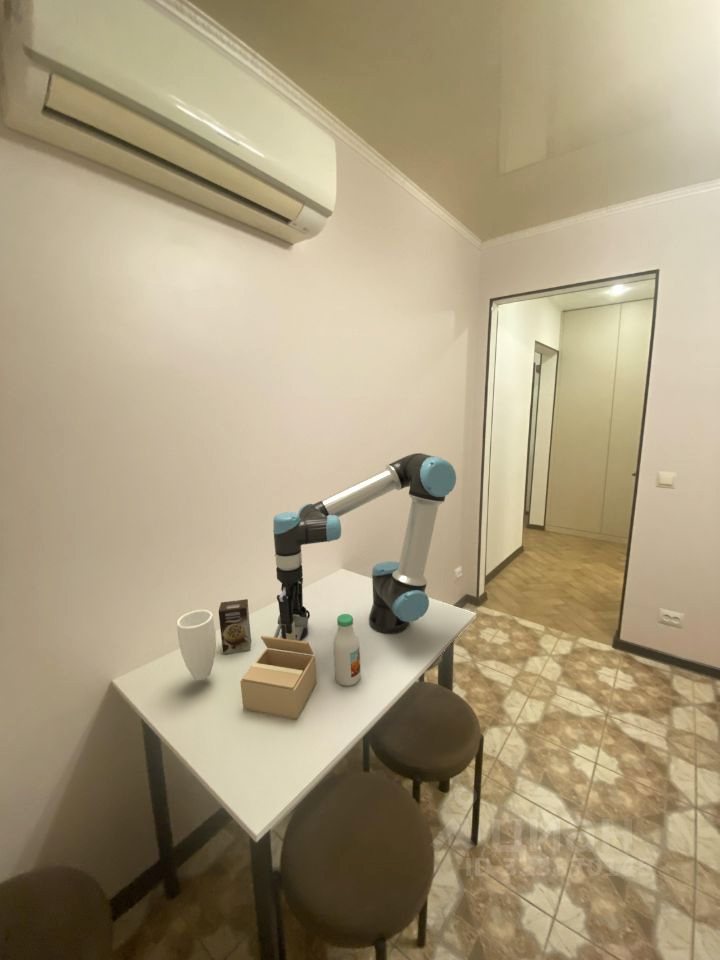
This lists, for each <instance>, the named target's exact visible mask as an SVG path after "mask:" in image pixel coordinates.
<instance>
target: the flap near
mask: <svg viewBox="0 0 720 960" xmlns="http://www.w3.org/2000/svg"><path fill="white" fill-rule="evenodd" d="M293 621H295V627H300V629H299V632H298V635H297V638H296V640H290V639H283V638H282V637H279V635H280V632H281V627H282V625H284V624H281V620H280V614H279V615H278V617H277V628H276V630H275V632H274V635H273V636H267V635H261V636H260V639H261V640H262V642H263V644H264V645H265V646H266V647H265V648H266V649H271V650H278V651H284V652H291V653H298V654H305V655H311V656H314V651H313V649H312V647H311V645H310V643H309V641H302V640H300V637H301V634H302V632H303V629H304V628H306V627H307V625H308V626H309V619H308V618H306V617H298V616H293ZM284 626H285V625H284Z"/></svg>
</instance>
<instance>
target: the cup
mask: <svg viewBox="0 0 720 960" xmlns="http://www.w3.org/2000/svg"><path fill="white" fill-rule="evenodd" d="M176 629H177V630H176V631H177V640H178V645H179V649H180V653H181V656H182V659H183V662H184V663H185V667H186V668H187V671H189V673H190V675H191V676H192V678H194V680H196V681H201V680H205V679H207V678H208V677H209V676H210V675H211V672H212V669H213V666H214V663H215V662H214V661H215V658H216V648H217V639H216V637H217V636H216V626H215V620H214V615H213V613H212V612H211V611H209V610H207V609H196V610H193V611H189V612H187V613H185V614H182V615H181V616H180V617H179V618H178V620H177V622H176Z"/></svg>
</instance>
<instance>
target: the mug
mask: <svg viewBox="0 0 720 960" xmlns="http://www.w3.org/2000/svg"><path fill="white" fill-rule="evenodd" d="M300 610H301V611H303V613H302V614H299V615H300V617H306V618H308V620H309V619H310V617H311V616H310V615H311V614H310V611H309V610H307V608H306V607H305V606H304V605H303V608H302V609H300ZM308 626H309V624H308V625H307V627H306V628H304V629H303V632H302V634H301V637H300V640H299V641H302V640H304V639H305V638H307V636H308V634H309V627H308ZM280 632H281V633H280V634H281V638H282V639H286V627H285V626H284V625H282V627H281V630H280ZM295 637H296V638H297V635H295Z"/></svg>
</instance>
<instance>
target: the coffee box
mask: <svg viewBox="0 0 720 960" xmlns="http://www.w3.org/2000/svg"><path fill="white" fill-rule="evenodd" d="M218 619H219V628H220V636H221V637H220V639H221V648H222V655H229V654H236V653H242V652H249V651H251V649H252V648H251V647H252V633H251V623H250V613H249V599H247V598H246V599H237V600H230V601H222V602H220V604H219V609H218Z"/></svg>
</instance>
